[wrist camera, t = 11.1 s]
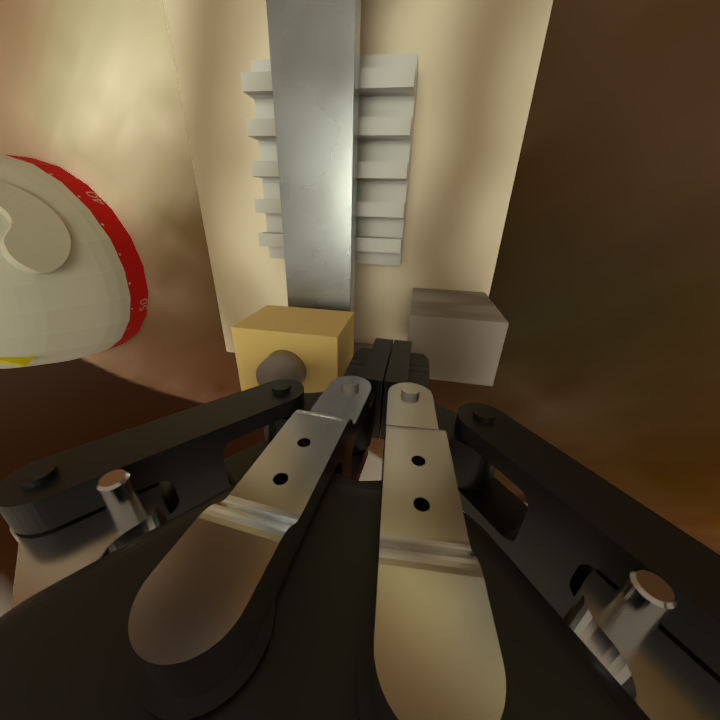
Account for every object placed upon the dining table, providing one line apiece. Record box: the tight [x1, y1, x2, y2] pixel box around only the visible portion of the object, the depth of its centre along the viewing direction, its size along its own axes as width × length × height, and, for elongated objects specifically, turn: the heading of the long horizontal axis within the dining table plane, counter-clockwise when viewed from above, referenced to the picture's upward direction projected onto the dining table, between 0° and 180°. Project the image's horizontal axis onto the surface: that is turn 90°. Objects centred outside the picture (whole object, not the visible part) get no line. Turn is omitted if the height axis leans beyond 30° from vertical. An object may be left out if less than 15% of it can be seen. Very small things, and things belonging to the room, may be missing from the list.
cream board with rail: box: [163, 0, 553, 386], centre depth 14 cm, size 17×22×8 cm
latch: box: [231, 305, 354, 393], centre depth 12 cm, size 4×3×4 cm
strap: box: [266, 0, 361, 312], centre depth 12 cm, size 3×17×1 cm, turn 179°
